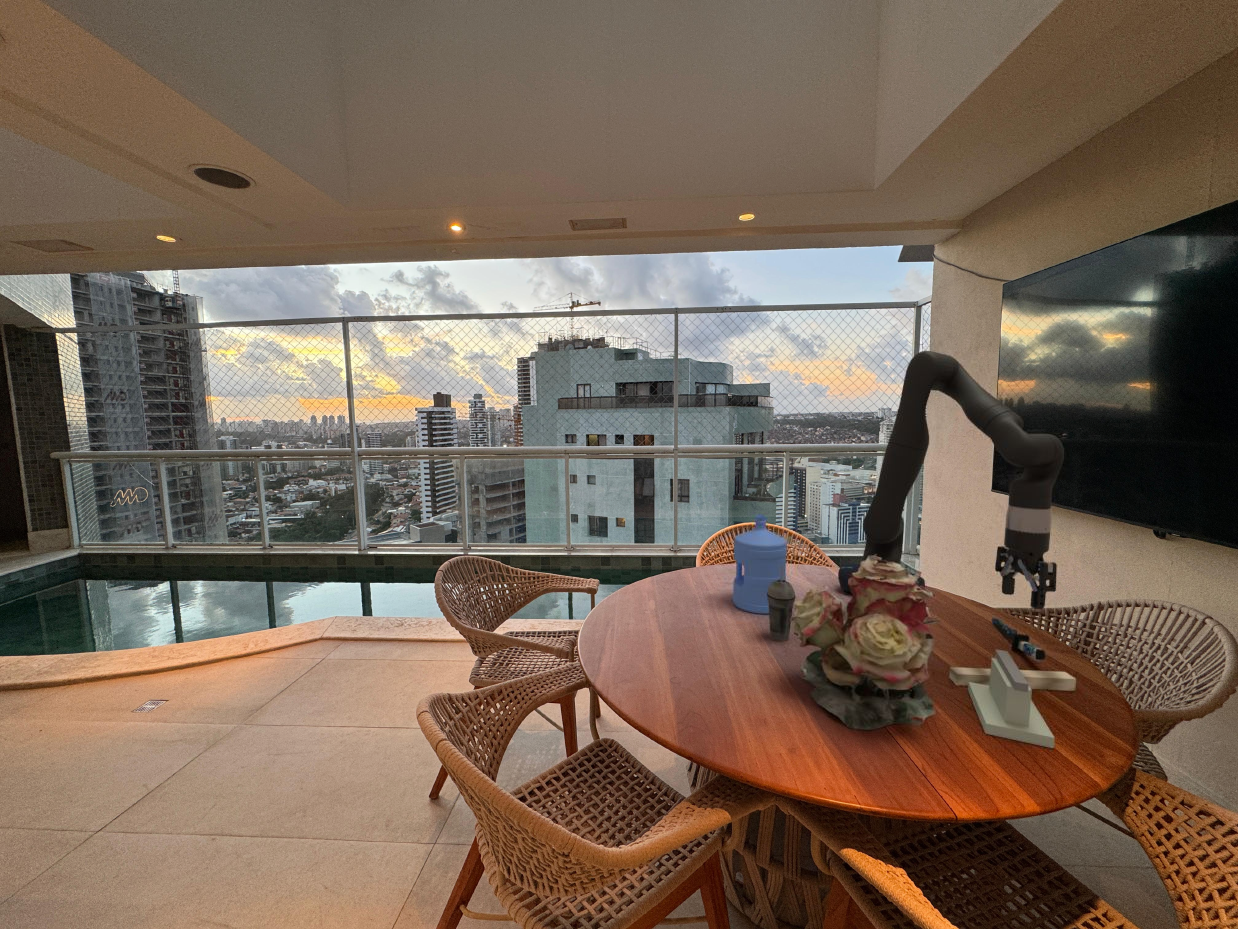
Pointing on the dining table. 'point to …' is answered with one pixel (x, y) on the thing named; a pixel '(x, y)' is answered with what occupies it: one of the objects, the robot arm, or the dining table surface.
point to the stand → (1009, 704)
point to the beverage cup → (780, 608)
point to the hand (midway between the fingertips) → (1021, 601)
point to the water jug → (757, 566)
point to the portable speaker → (851, 567)
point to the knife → (1019, 641)
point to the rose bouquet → (869, 646)
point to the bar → (1033, 678)
